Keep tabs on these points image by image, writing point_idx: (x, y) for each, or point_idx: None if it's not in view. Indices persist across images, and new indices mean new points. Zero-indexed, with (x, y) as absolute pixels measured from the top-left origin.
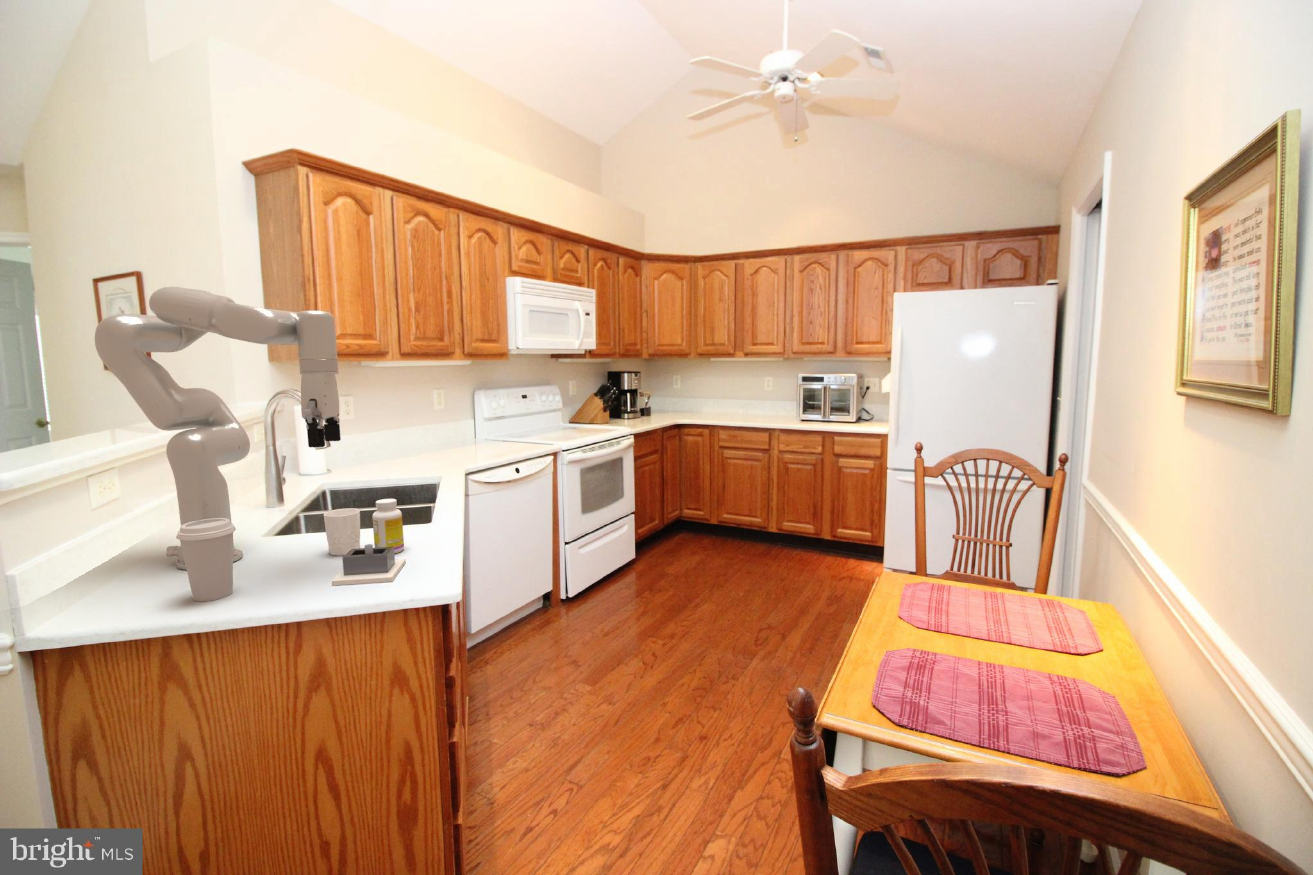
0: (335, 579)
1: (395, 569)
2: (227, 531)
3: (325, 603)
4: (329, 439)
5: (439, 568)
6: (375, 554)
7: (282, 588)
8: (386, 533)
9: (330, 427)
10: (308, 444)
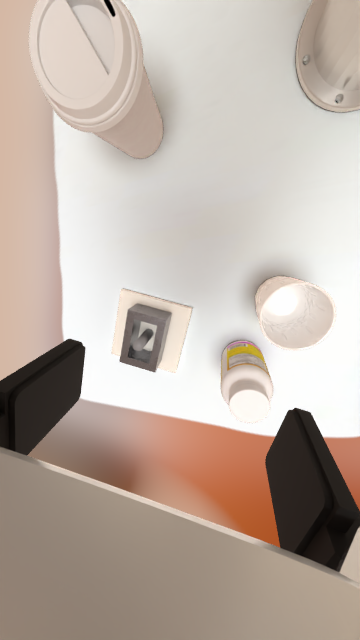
0: (125, 293)
1: None
2: (66, 121)
3: (69, 285)
4: (282, 429)
5: (140, 399)
6: (126, 349)
7: (134, 228)
8: (221, 370)
9: (298, 509)
10: (64, 342)
